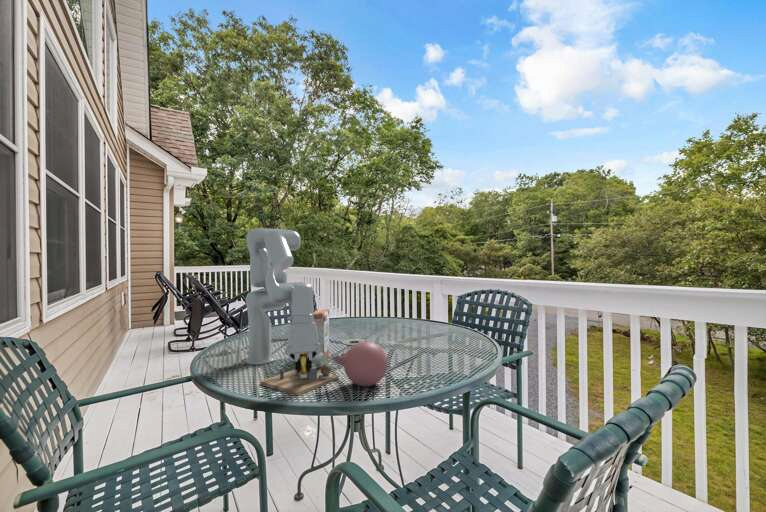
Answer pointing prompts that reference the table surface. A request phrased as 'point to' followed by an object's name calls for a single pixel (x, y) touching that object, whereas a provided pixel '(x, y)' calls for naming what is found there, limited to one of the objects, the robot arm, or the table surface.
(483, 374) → the table surface
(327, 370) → the walnut ball
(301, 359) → the lever
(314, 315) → the cracker box
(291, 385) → the base
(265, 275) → the robot arm
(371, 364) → the balloon
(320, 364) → the air freshener
